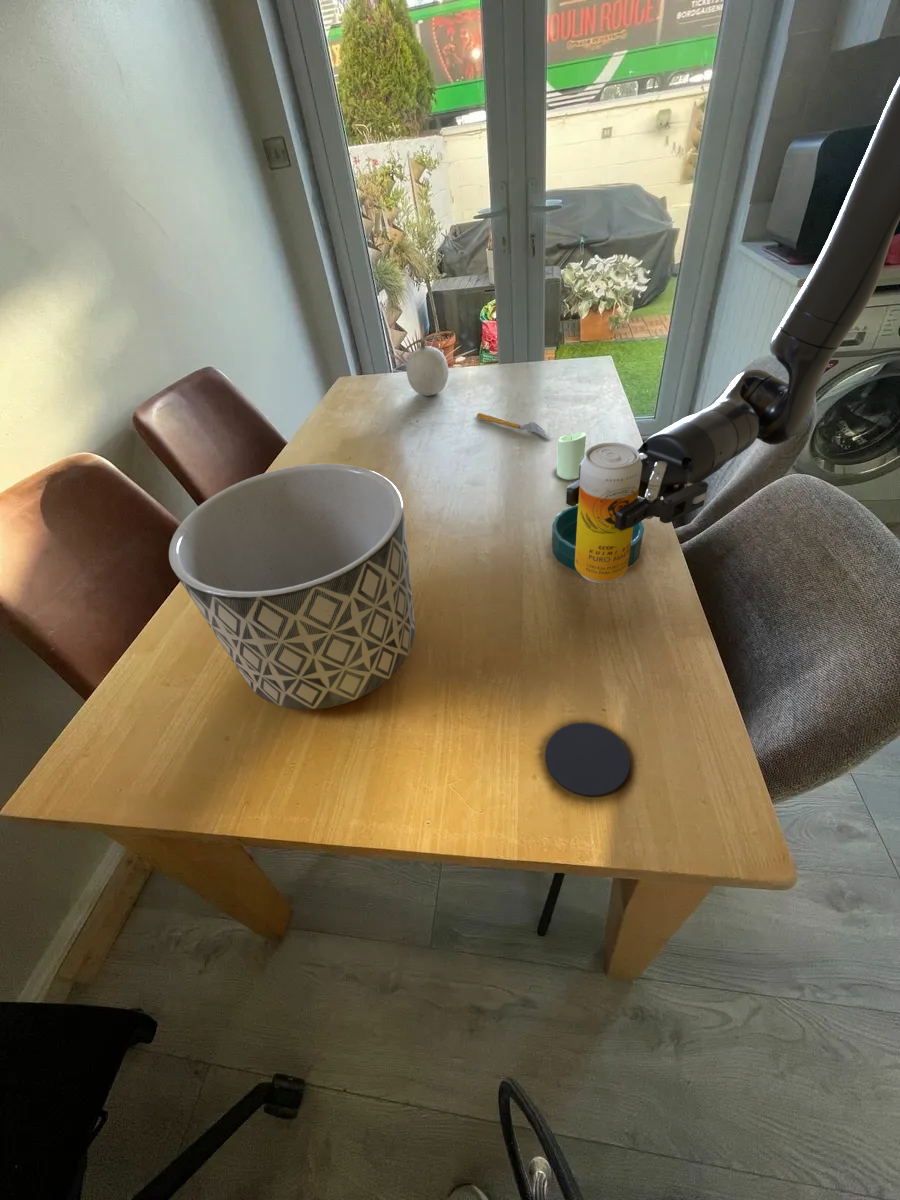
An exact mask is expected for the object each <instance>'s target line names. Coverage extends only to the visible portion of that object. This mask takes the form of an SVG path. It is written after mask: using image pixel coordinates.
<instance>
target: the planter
mask: <svg viewBox="0 0 900 1200" xmlns="http://www.w3.org/2000/svg"><path fill="white" fill-rule="evenodd" d="M168 560H169V564H170V567H171V569H172V570H173V572H174V574H175V575H176V577H177V579H178V580H179V582H180V583H181V584H182V586H183V588H184V589H185V591H186V593H188V595H189V597H190V598H191V600H192V601H193V603H194V604H195V606H196V608H197V609H198V610H199V612H200V614H201V615H202V617H203V618H204V620H205V622H206V623H207V624H208V627H209V628H210V629H211V631H212V632H213V634H214V636H215V637H216V638H217V641H219V643H220V644H221V646H222V647H223V649H224V650H225V652H226V654H227V655H228V657H229V658H230V660H231V661H232V663H233V665H234V666H235V667H236V669H237V670H238V672H239V673H240V676H241V677H242V678H243V680H244V681H245V683H246V684H247V685H248V687H249V689H251V690H252V691H253V692H254V693H255V694H256V695H257V696H259V697H260V698H261V699H263V700H265V701H267V702H268V703H271V704H273V705H277V706H280V707H283V708H287V709H291V710H292V709H293V710H306V711H307V710H322V709H328V708H333V707H338V706H341V705H344V704H347V703H350V702H353V701H356V700H357V699H360V698H362V697H365V696H366V695H369V694H370V693H371V692H373V691H375V690H377V689H378V688H379V687H381V686H383V684H385V683H386V682H387V681H389V680H390V678H393V676H394V675H395V674H396V673H397V672H398V671H399V669H400V668H401V667H402V666H403V664H404V663H405V661H406V660H407V658H408V656H409V654H410V652H411V650H412V648H413V645H414V642H415V636H416V621H415V620H416V619H415V618H416V617H415V609H414V601H413V600H414V599H413V590H412V580H411V572H410V571H411V570H410V559H409V551H408V541H407V530H406V521H405V511H404V504H403V498H402V495H401V492H400V491H399V489H398V488H397V487H396V485H395V484H394V483H393V482H392V481H391V480H389V479H388V478H386V477H385V476H384V475H381V474H380V473H377V472H375V471H374V470H371V469H368V468H364V467H360V466H356V465H350V464H343V463H311V464H310V463H309V464H302V465H294V466H289V467H284V468H278V469H275V470H271V471H267V472H264V473H261V474H258V475H255V476H252V477H249V478H246V479H244V480H241V481H240V482H237V483H234V484H232V485H230V486H228V487H226V488H225V489H223V490H221V491H219V492H217V493H216V494H214V495H213V496H211V497H209V498H207V500H205V501H204V502H202V503H201V504H200V505H198V506H197V507H195V509H194V510H192V512H190V513H189V514H188V515H187V516H186V517H185V518H184V519H183V521H182V522H181V523H180V524H179V526H178V527H177V529H176V530H175V532H174V533H173V535H172V538H171V541H170V543H169V547H168Z"/></svg>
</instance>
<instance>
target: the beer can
mask: <svg viewBox="0 0 900 1200" xmlns="http://www.w3.org/2000/svg"><path fill="white" fill-rule="evenodd" d="M637 450H638V449H637V448H635V447H634V446H632V445H629V444H626V443H621V442H603V443H598V444H595V445H592V446H591V447H590V448H588V449H587V450H586V451H585V455H584V458H583V460H582V462H581V470H580V486H579V502H578V504H577V505H578V518H577V534H576V551H575V567H576V569H577V571H576V572H578V573H579V574H580V576H582V578H584V579H585V580H587V581H589V582H592V583H596V584H607V583H612V582H614V581H616V580H618V579H619V578H620V577H622V576H624V574H625V573H627V570H628V568H629V567H628V561H629V554H630V547H631V540H632V533H633V527H631V528H625V529H623V530H622V531H621V530H619V529H617V528H615V517H616V513H617V511H618V510H620V509H621V508H623V507H624V506H626V505H628V504H629V503H631V502H633V501H634V500H636V499H637V498H639V496H638V492H639V485H640V478H641V471H642V462H641V460H640V457H639V452H638V451H637Z"/></svg>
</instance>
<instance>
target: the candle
mask: <svg viewBox="0 0 900 1200" xmlns="http://www.w3.org/2000/svg"><path fill="white" fill-rule="evenodd" d="M586 438H587V433H586V432H574V433H570V434H566V435H563V436H561V437H560V438H559V439H557V456H556V457H557V459H556V475H557V476H558V477H559V478H561V479H563V480H569V481H570V480H576V479H579V466H580V463H581V462H582V460H583V458H584V457H585V454H586V442H587V441H586V440H587V439H586Z"/></svg>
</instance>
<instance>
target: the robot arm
mask: <svg viewBox="0 0 900 1200" xmlns="http://www.w3.org/2000/svg"><path fill="white" fill-rule="evenodd" d="M899 222H900V77H898V80H897V82H896V84H895V86H894V87H893V90H892V92H891V94H890V96H889V98H888V101H887V103H886V105H885V107H884V109H883V111H882V114H881V117H880V119H879V120H878V124H877V126H876V128H875V130H874V133H873V135H872V138H871V140H870V142H869V145H868V147H867V149H866V152H865V154H864V155H863V159H862V160H861V163H860V165H859V167H858V170H857V172H856V174H855V177H854V179H853V181H852V183H851V186H850V188H849V189H848V192H847V194H846V196H845V200H844V201H843V204H842V206H841V209H840V210H839V213H838V215H837V218H836V219H835V221H834V224H833V226H832V229H831V231H830V233H829V235H828V238H827V240H826V241H825V244H824V246H823V248H822V250H821V251H820V254H819V255H818V258H817V259H816V261H815V263H814V265H813V266H812V268H811V270H810V273H809V274H808V275H807V277H806V279H805V281H804V282H803V285H802V286H801V288H800V290H799V291H798V293H797V295H796V296H795V298H794V300H793V302H792V303H791V305H790V307H789V308H788V310H787V312H786V313H785V315H784V317H783V318H782V320H781V322H780V323H779V325H778V327H777V329H776V330H775V332H774V334H773V335H772V337H771V340H770V343H769V351H770V354H771V355H772V356H773V357H774V358H775V360H777V361H778V362H779V363H780V364H781V365H782V366H783V368H785V370H786V372H787V374H788V383H787V382H785V381H783V380H781V379H780V378H777V377H776V376H773V375H772V374H770V373H769V372H766V371H764V370H761V369H747V370H744V371H742V372H740V373H738V374H737V375H736V376H735V377H734V378H733V379H732V380H731V382H730V383H729V384H728V386H726V388H725V390H724V392H723V393H722V394H721V395H720V396H719V397H718V398H717V399H716V400H715V401H714V402H713V403H712V404H711V405H709V406H707V407H705V408H704V409H702V410H700V411H699V412H696V413H694V414H690V415H687V416H685V417H683V418H681V419H680V420H678V421H676V422H674V423H672V424H671V425H669V426H667V427H665V428H663V429H662V430H660V431H658V432H657V433H654V434H653V435H650V437H647V439H646V440H645V441H643V443H642V444H641V446H639V448H637V449H636V450H637V451H638V452H639V457H640V460H641V462H642V471H641V478H640V485H639V492H638V498H637V499H636V500H634V501H633V502H631V503H629V504H628V505H626V506H624V507H623V508H621V509H620V510H618V511H617V513H616V517H615V528H617V529H619V530H621V531H622V530H623V529H625V528H631V527H633V526H635V525H636V524H638V523H639V522H641V521H642V522H643V521H644V520H645V519H646V520H652V519H653V518H659V522H661V523H662V524H669V523H671V522H674V521H676V520H678V519H681V518H682V517H684V516H686V515H687V514H690V513H692V512H693V511H696V510H698V509H701V508H702V507H703V506H704V504H705V500H706V497H707V493H708V488H709V484H708V482H706V481H704V480H705V479H707V478H709V477H711V476H712V475H714V474H715V473H717V472H718V471H719V470H720V469H721V468H722V467H724V465H726V464H727V463H728V462H730V461H731V460H732V459H733V460H734V458H736V457H737V456H739V455H740V454H741V453H744V452H745V451H746V450H747V449H749V448H750V447H751V446H752V445H753V444H754V443H755V442H756V440H759V441H761V442H762V443H765V444H767V445H769V446H771V445H780V444H783V443H785V442H787V441H789V440H790V439H792V438H793V437H795V435H796V434H798V433H799V432H800V430H801V429H802V428H803V426H804V424H805V423H806V421H807V418H808V416H809V414H810V411H811V409H812V406H813V403H814V400H815V398H816V394H817V392H818V389H819V386H820V384H821V381H822V379H823V376H824V374H825V372H826V370H827V368H828V365H829V363H830V362H831V360H832V358H833V356H834V355H835V353H836V351H837V350H838V349H839V347H840V346H841V344H842V343H843V342H844V340H845V339H846V337H847V336H848V334H849V333H850V331H851V330H852V328H853V327H854V326H855V324H856V322H857V321H858V320H859V318H860V316H861V315H862V314H863V312H864V310H865V309H866V307H867V306H868V304H869V302H870V300H871V298H872V296H873V294H874V292H875V290H876V288H877V285H878V282H879V281H880V278H881V274H882V271H883V268H884V265H885V262H886V258H887V256H888V253H889V249H890V245H891V243H892V240H893V238H894V234H895V231H896V229H897V227H898V225H899ZM580 470H581V463H580V466H579V478H578V480H576V481H574V482H573V483H570V484H569V485H568V486H567V487H566V497H565V498H566V499H565V504H566V505H568V506H570V507H571V506H572V507H573V506H575V505H578V502H579V486H580ZM662 497H663V498H662ZM661 498H662V499H661Z"/></svg>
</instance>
